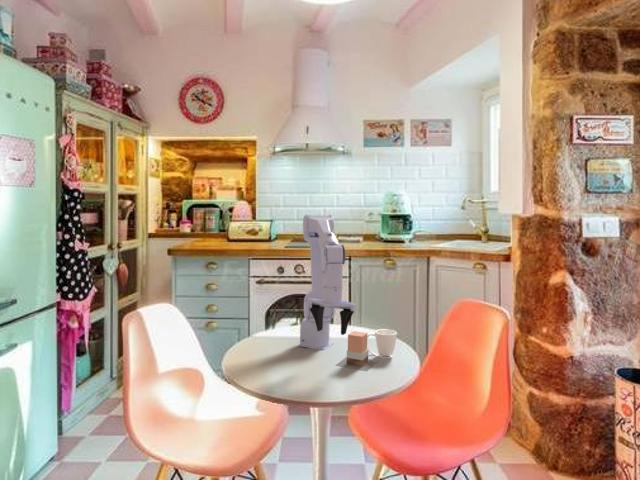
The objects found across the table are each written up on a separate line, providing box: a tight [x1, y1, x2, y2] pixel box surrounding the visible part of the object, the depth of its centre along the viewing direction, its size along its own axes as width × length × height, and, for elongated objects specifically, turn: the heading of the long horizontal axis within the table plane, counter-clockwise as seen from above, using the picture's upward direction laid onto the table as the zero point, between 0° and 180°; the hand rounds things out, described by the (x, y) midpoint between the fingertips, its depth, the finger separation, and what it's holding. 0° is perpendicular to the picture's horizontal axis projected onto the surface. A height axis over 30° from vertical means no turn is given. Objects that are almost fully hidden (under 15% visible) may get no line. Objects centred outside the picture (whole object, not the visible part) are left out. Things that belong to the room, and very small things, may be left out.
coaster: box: [335, 356, 379, 372], centre depth 143 cm, size 10×10×1 cm
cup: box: [367, 328, 398, 359], centre depth 150 cm, size 7×10×8 cm
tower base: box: [346, 355, 369, 367], centre depth 143 cm, size 5×5×2 cm
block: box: [347, 330, 369, 353], centre depth 142 cm, size 4×4×5 cm
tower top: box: [346, 349, 369, 360], centre depth 143 cm, size 5×5×2 cm
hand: (331, 332), depth 139 cm, fingers open, 7 cm apart
